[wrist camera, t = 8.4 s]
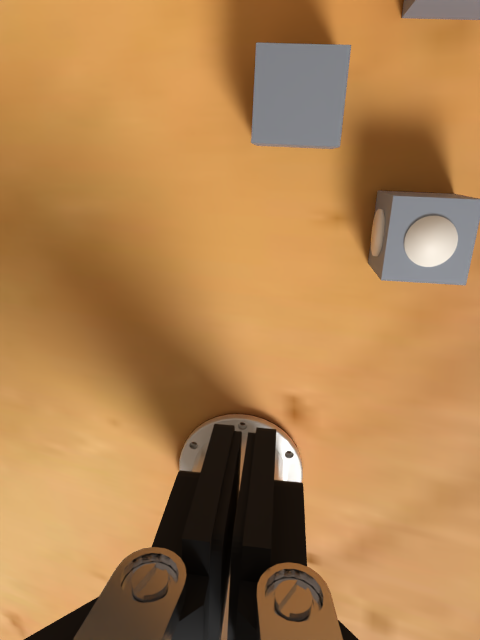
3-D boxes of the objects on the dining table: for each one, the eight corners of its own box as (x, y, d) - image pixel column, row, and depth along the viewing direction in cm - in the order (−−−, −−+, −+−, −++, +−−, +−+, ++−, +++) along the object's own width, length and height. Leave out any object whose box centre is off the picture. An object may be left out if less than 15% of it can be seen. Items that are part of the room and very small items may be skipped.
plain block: (331, 148, 36) (339, 146, 30) (257, 145, 37) (251, 143, 31) (340, 64, 34) (351, 44, 28) (261, 61, 35) (256, 42, 29)
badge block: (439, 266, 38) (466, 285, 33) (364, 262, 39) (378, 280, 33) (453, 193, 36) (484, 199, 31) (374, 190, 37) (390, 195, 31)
